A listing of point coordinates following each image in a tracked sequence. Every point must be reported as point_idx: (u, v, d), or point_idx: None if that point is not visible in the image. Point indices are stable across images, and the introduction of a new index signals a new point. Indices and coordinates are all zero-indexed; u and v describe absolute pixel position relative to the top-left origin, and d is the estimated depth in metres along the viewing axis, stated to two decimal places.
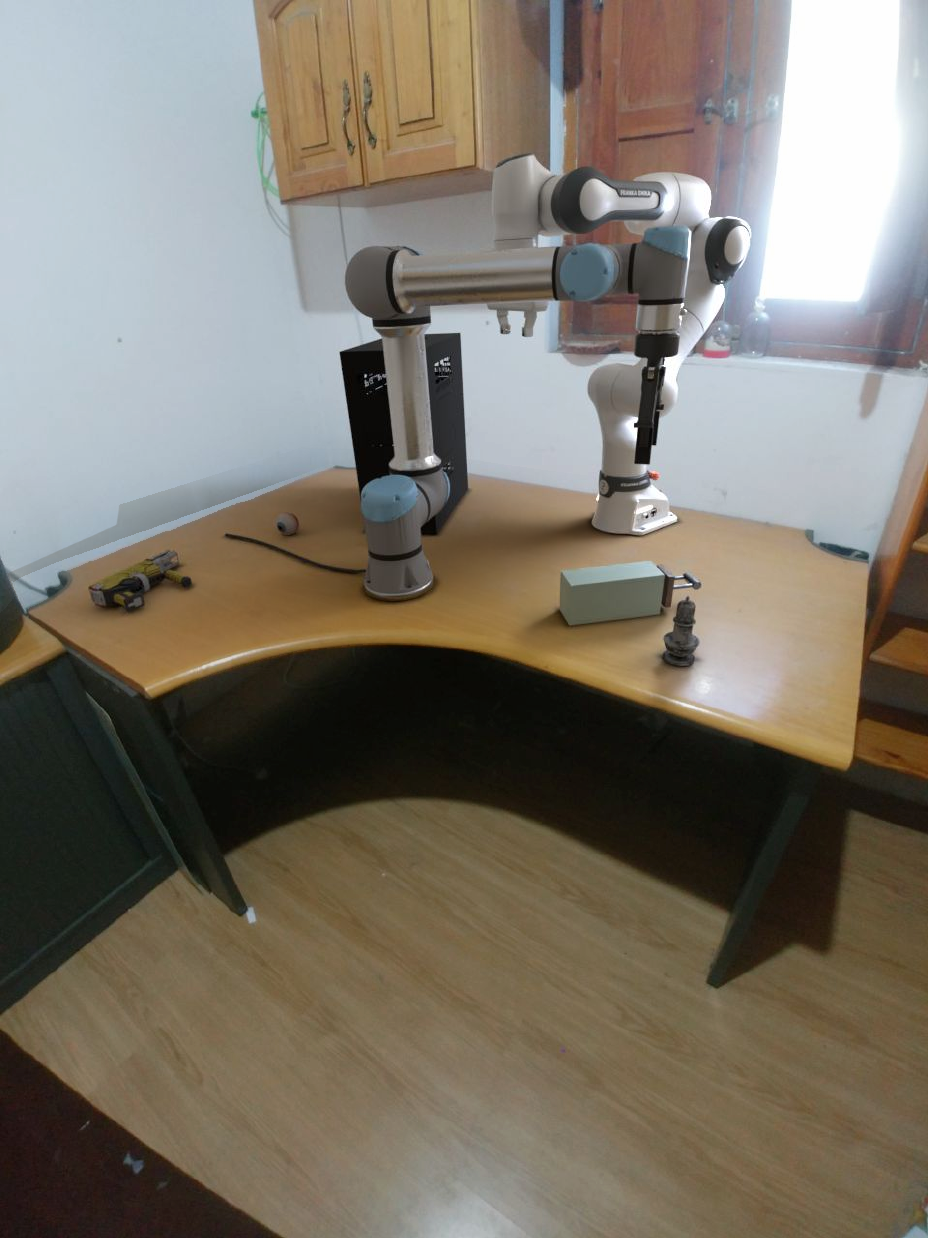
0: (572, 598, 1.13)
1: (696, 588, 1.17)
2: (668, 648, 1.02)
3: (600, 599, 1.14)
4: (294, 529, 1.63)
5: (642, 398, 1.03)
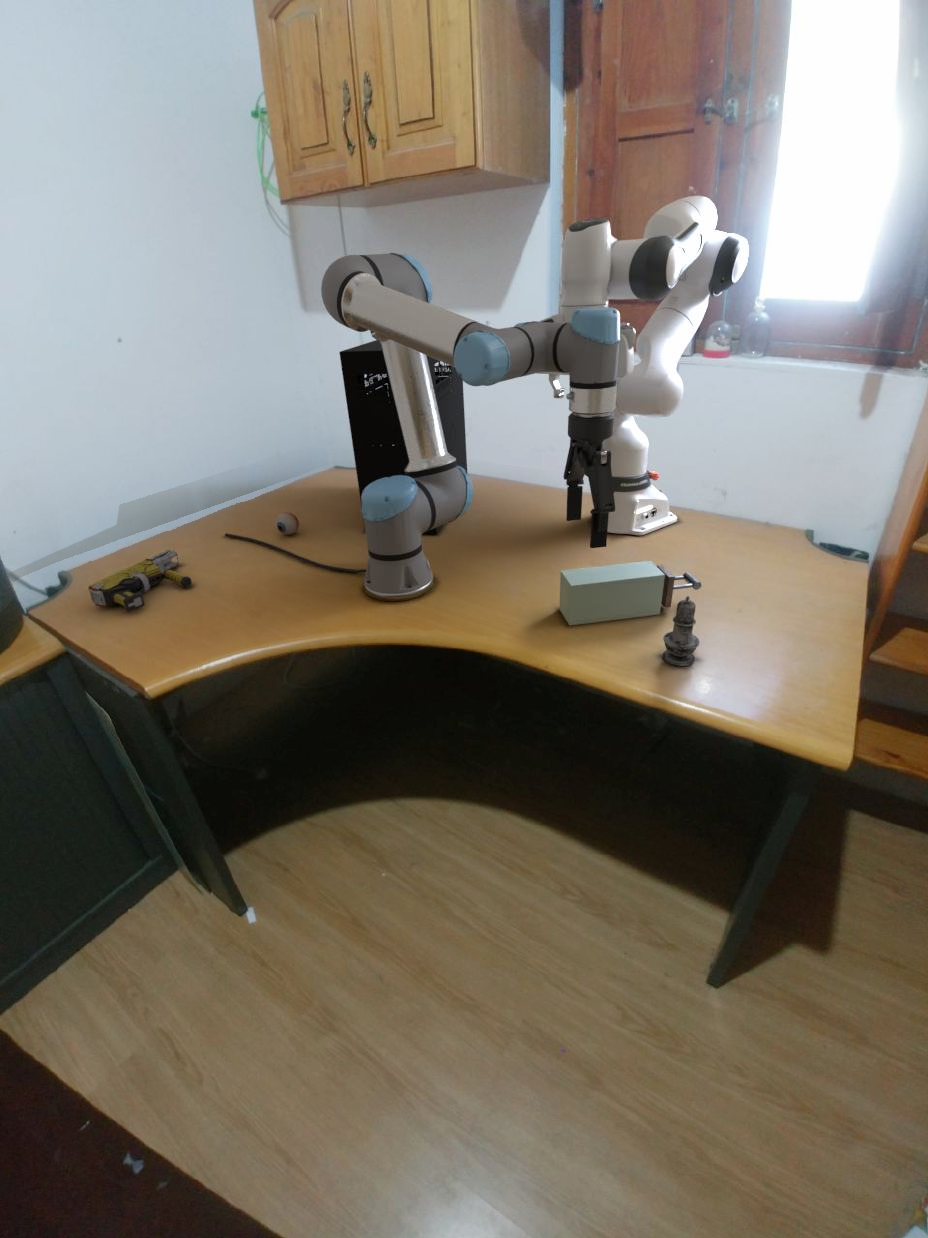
0: (572, 598, 1.13)
1: (696, 588, 1.17)
2: (668, 648, 1.02)
3: (600, 599, 1.14)
4: (294, 529, 1.63)
5: None
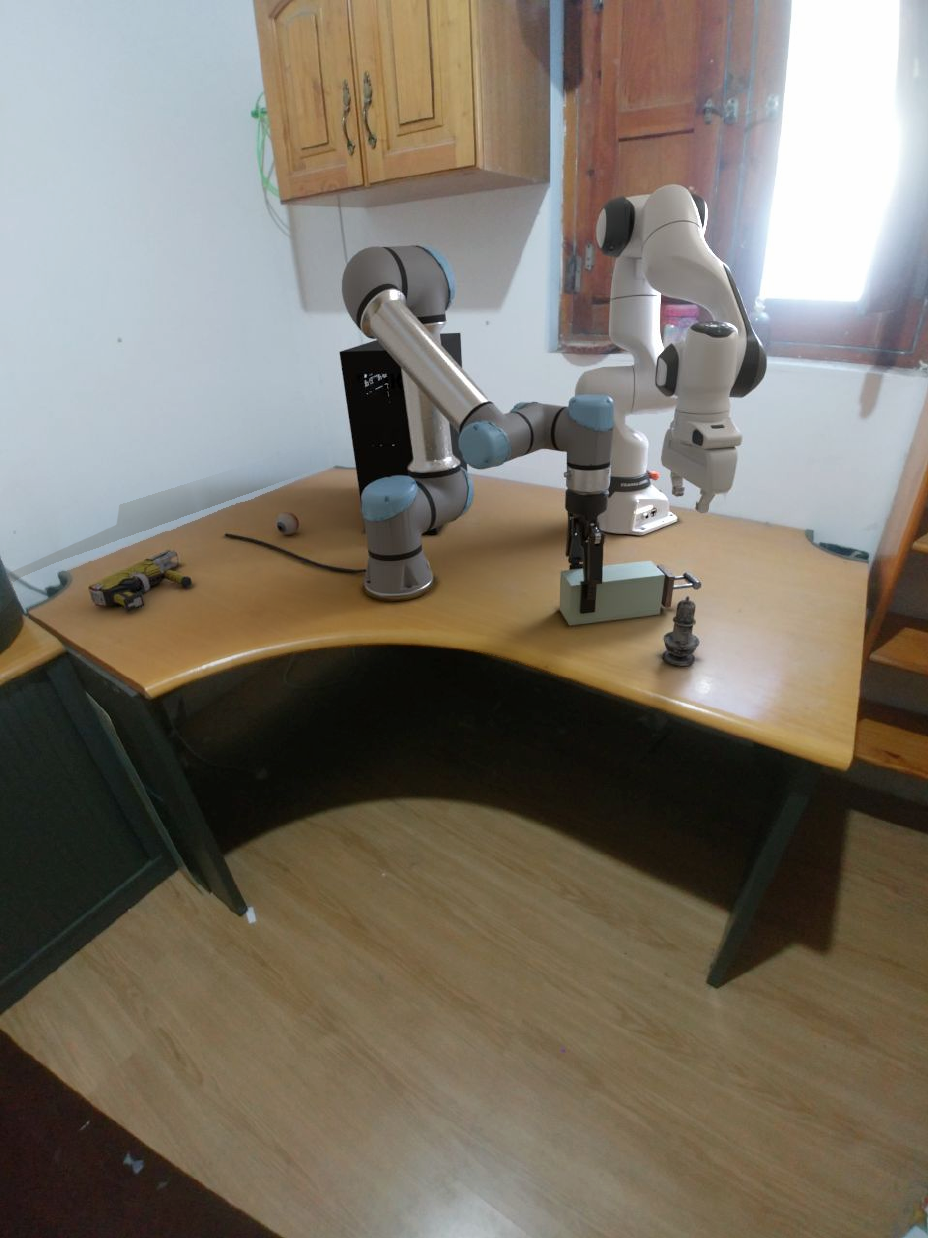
0: (572, 598, 1.13)
1: (696, 588, 1.17)
2: (668, 648, 1.02)
3: (600, 599, 1.14)
4: (294, 529, 1.63)
5: None
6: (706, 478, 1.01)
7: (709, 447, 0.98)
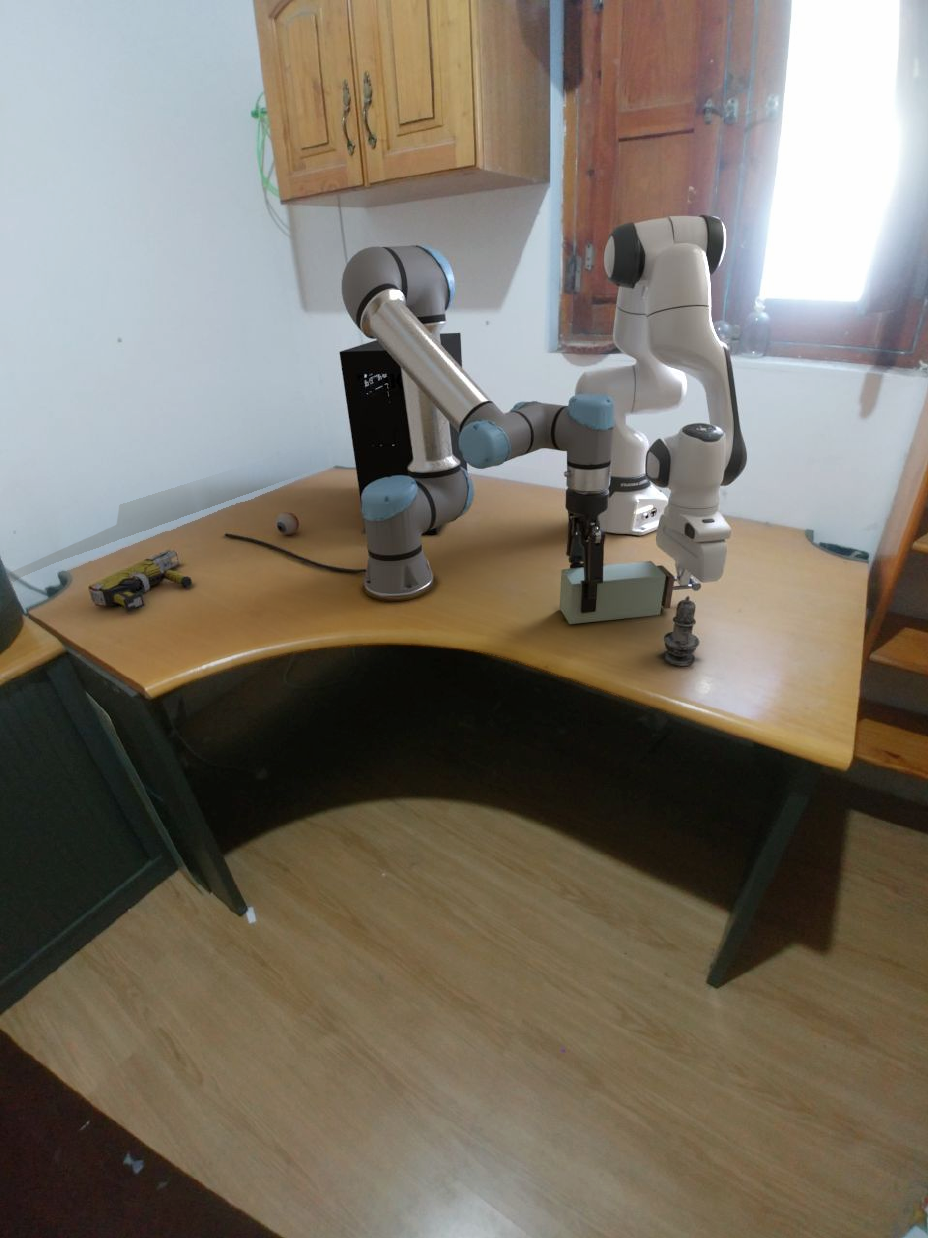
0: (573, 596, 1.13)
1: (695, 589, 1.18)
2: (668, 648, 1.02)
3: (601, 598, 1.14)
4: (294, 529, 1.63)
5: None
6: (697, 567, 1.08)
7: (700, 541, 1.05)
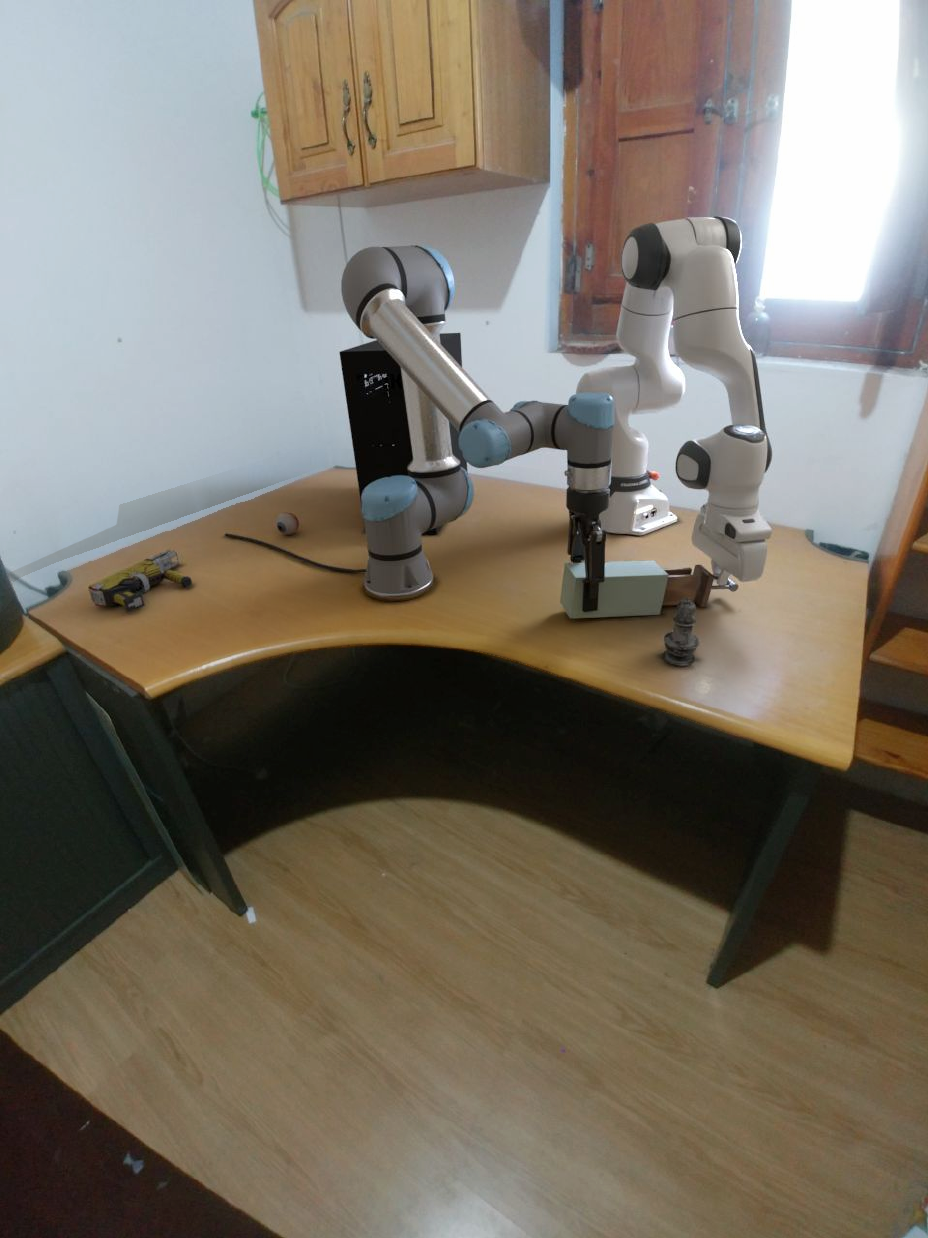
0: (575, 590, 1.12)
1: (732, 590, 1.19)
2: (668, 648, 1.02)
3: (603, 594, 1.14)
4: (294, 529, 1.63)
5: None
6: (737, 566, 1.09)
7: (741, 541, 1.06)
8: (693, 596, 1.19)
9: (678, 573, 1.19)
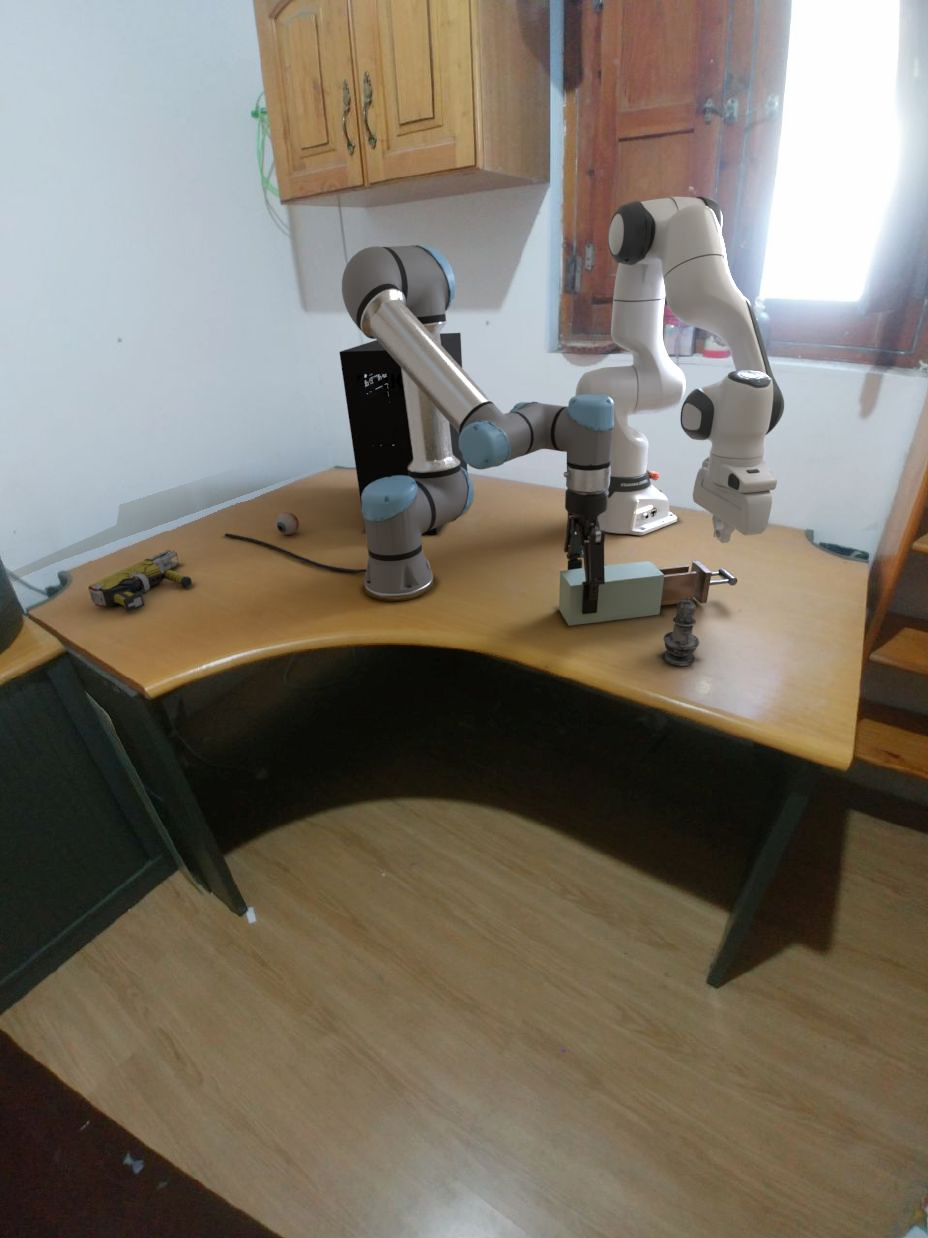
0: (571, 598, 1.13)
1: (732, 584, 1.18)
2: (668, 648, 1.02)
3: (600, 599, 1.14)
4: (294, 529, 1.63)
5: None
6: (741, 519, 1.05)
7: (745, 491, 1.02)
8: (692, 593, 1.18)
9: (675, 571, 1.19)
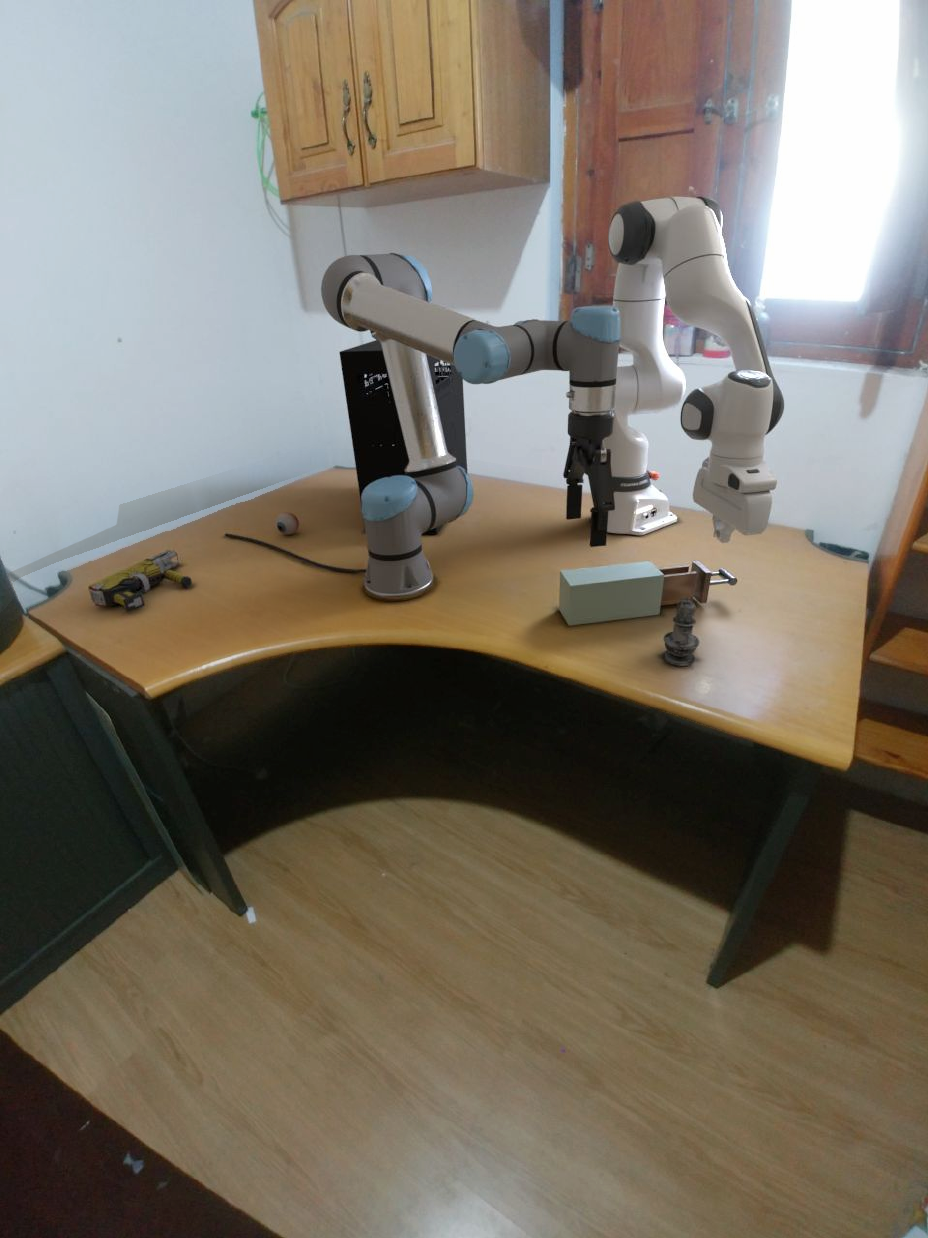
0: (571, 598, 1.13)
1: (732, 584, 1.18)
2: (668, 648, 1.02)
3: (600, 599, 1.14)
4: (294, 529, 1.63)
5: None
6: (741, 519, 1.05)
7: (745, 491, 1.02)
8: (692, 593, 1.18)
9: (675, 571, 1.19)
